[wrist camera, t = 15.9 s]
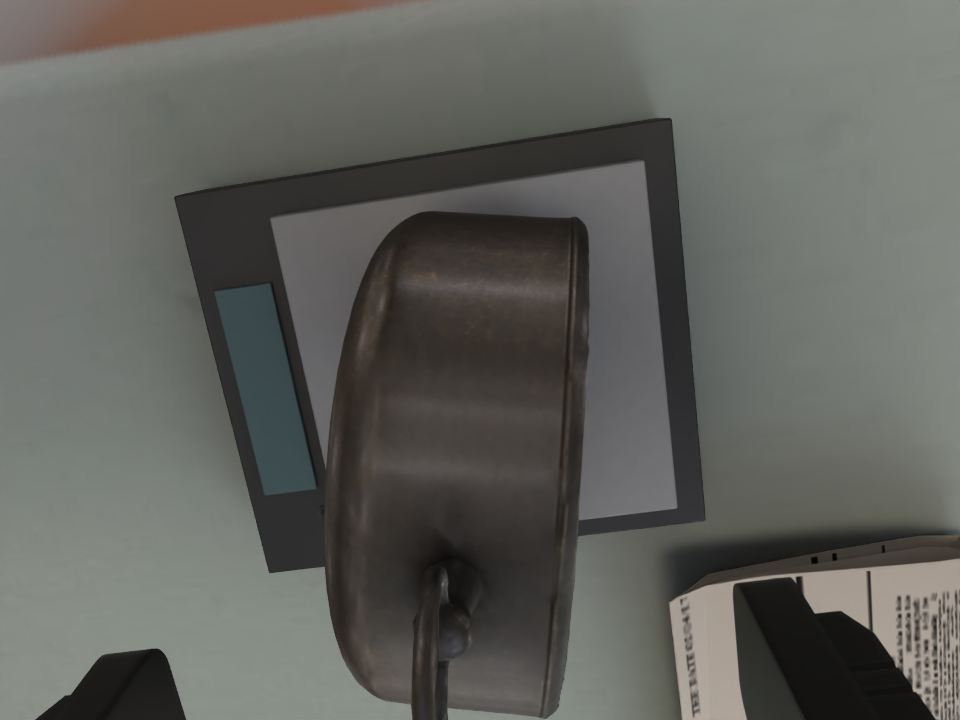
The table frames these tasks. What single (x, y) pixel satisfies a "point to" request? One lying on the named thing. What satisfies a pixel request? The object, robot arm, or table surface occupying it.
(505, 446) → the alarm clock
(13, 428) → the table surface
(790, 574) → the newspaper
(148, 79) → the table surface
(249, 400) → the scale
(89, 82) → the table surface
